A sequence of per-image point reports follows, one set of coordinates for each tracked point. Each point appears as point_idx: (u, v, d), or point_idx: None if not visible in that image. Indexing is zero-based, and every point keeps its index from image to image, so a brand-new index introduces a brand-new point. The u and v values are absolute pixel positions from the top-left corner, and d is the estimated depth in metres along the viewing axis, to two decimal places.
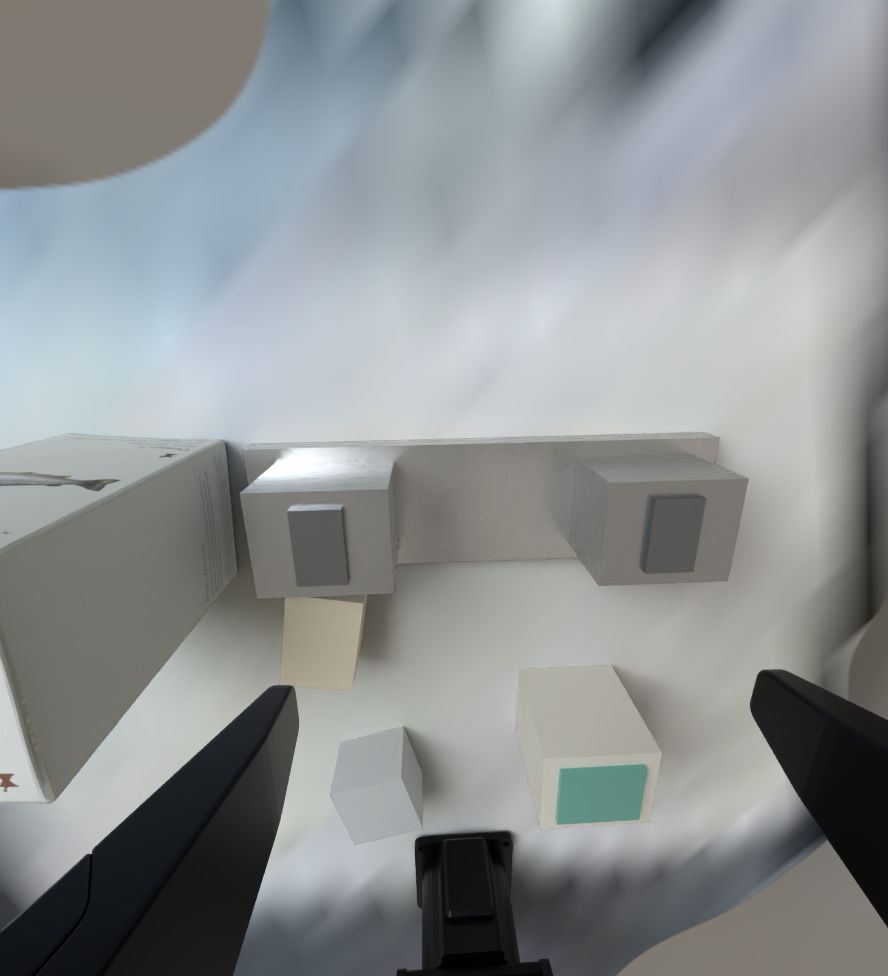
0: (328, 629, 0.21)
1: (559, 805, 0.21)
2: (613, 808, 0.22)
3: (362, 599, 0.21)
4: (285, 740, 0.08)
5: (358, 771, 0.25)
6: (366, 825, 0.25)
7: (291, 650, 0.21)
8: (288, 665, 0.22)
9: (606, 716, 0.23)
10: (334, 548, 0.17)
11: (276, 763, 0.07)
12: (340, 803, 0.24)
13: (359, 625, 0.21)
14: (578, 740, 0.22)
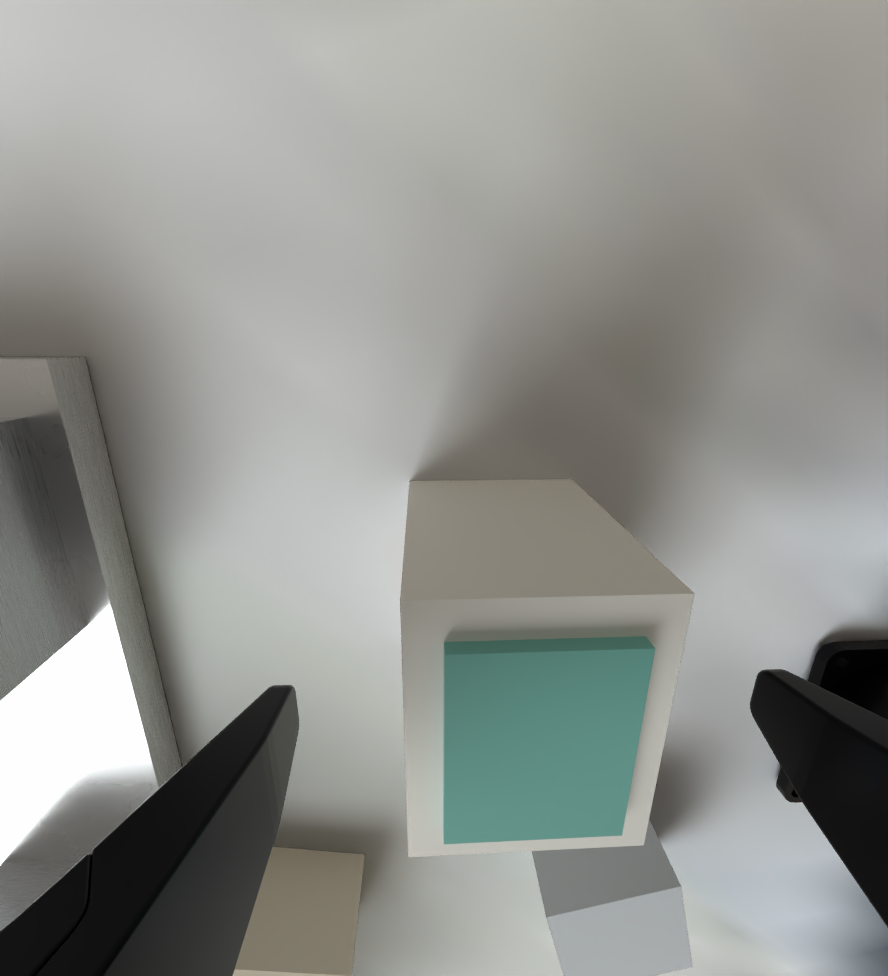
0: None
1: (553, 836, 0.08)
2: (590, 720, 0.07)
3: None
4: (285, 740, 0.08)
5: None
6: (649, 954, 0.14)
7: None
8: None
9: None
10: None
11: (276, 763, 0.07)
12: None
13: None
14: None
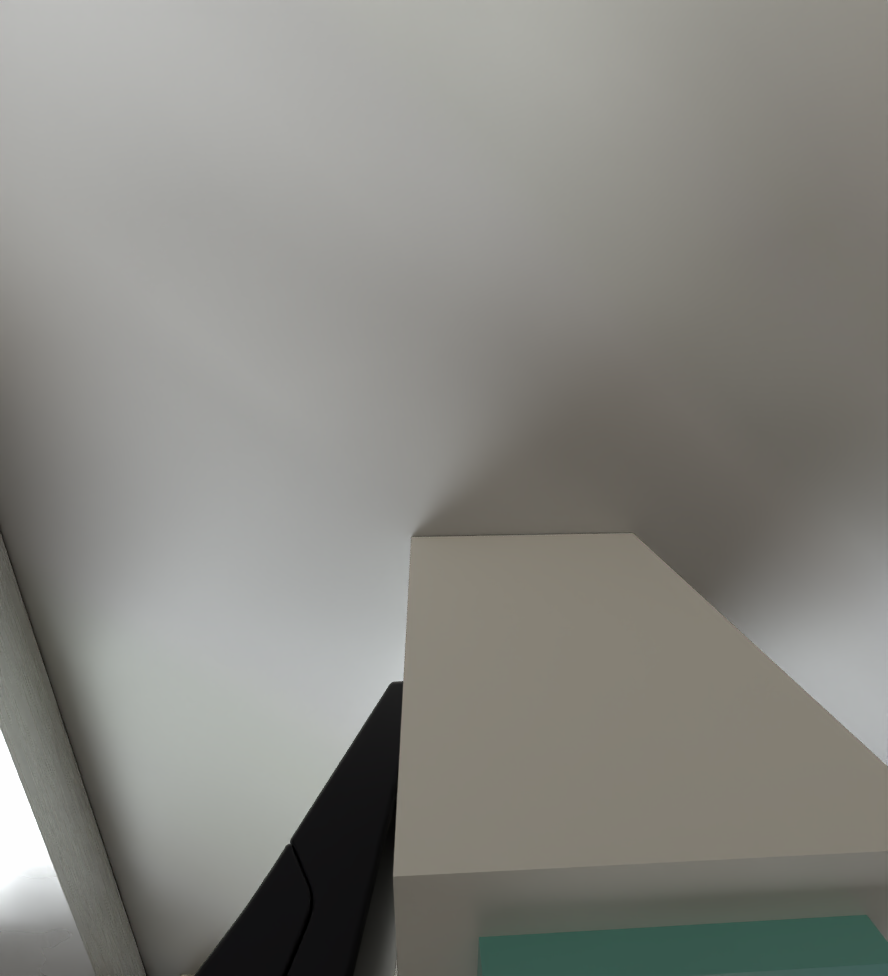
0: None
1: None
2: None
3: None
4: None
5: None
6: None
7: None
8: None
9: None
10: None
11: None
12: None
13: None
14: None
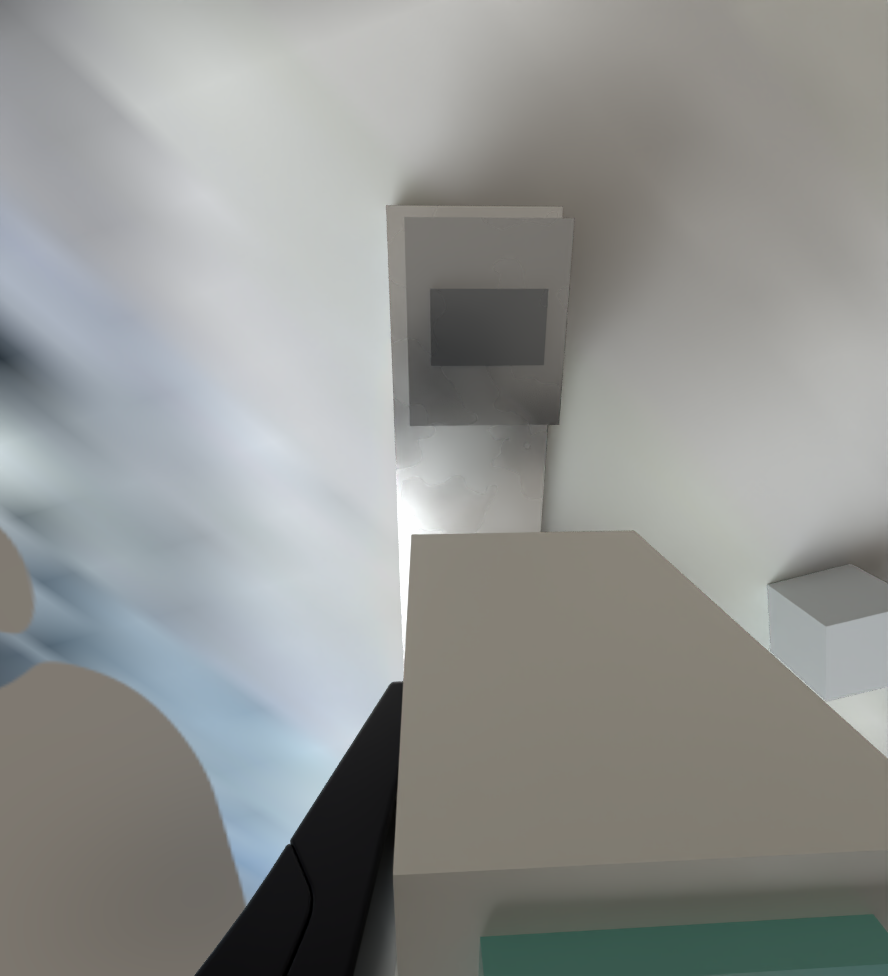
0: None
1: None
2: None
3: None
4: None
5: (807, 659, 0.20)
6: None
7: None
8: None
9: None
10: None
11: None
12: (842, 691, 0.20)
13: None
14: None
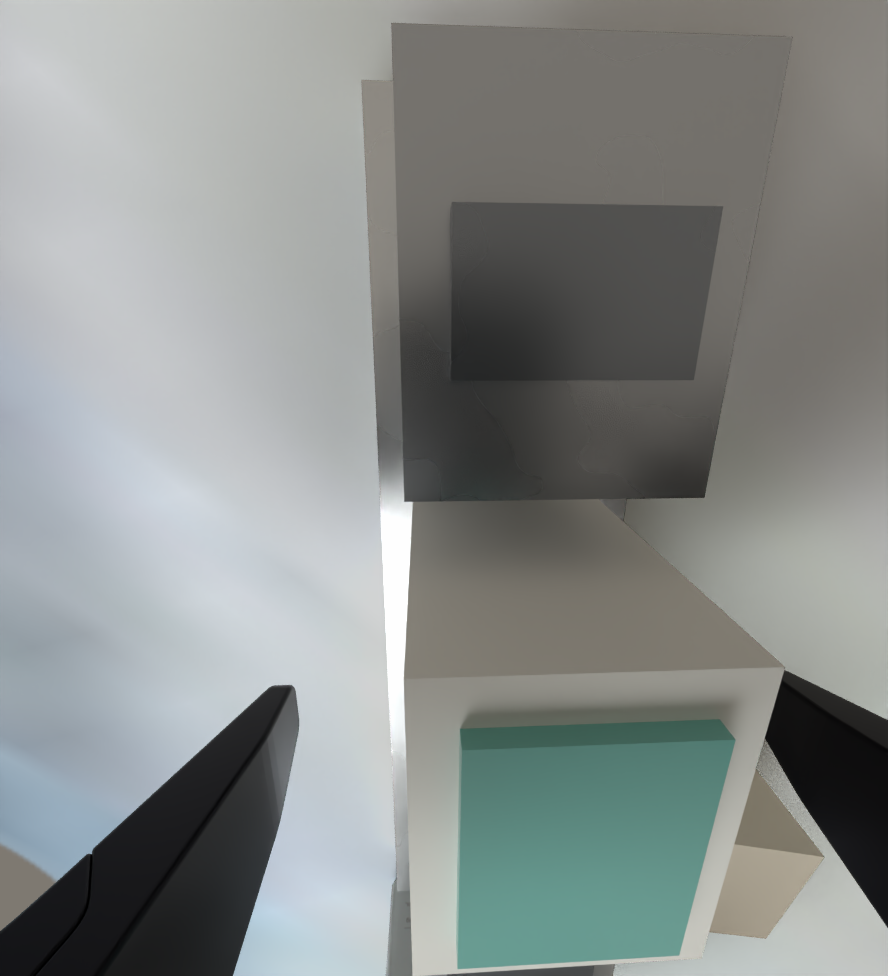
0: None
1: (594, 957, 0.06)
2: (646, 826, 0.06)
3: None
4: (285, 740, 0.08)
5: None
6: None
7: None
8: (736, 926, 0.13)
9: None
10: (520, 971, 0.10)
11: (276, 763, 0.07)
12: None
13: None
14: None
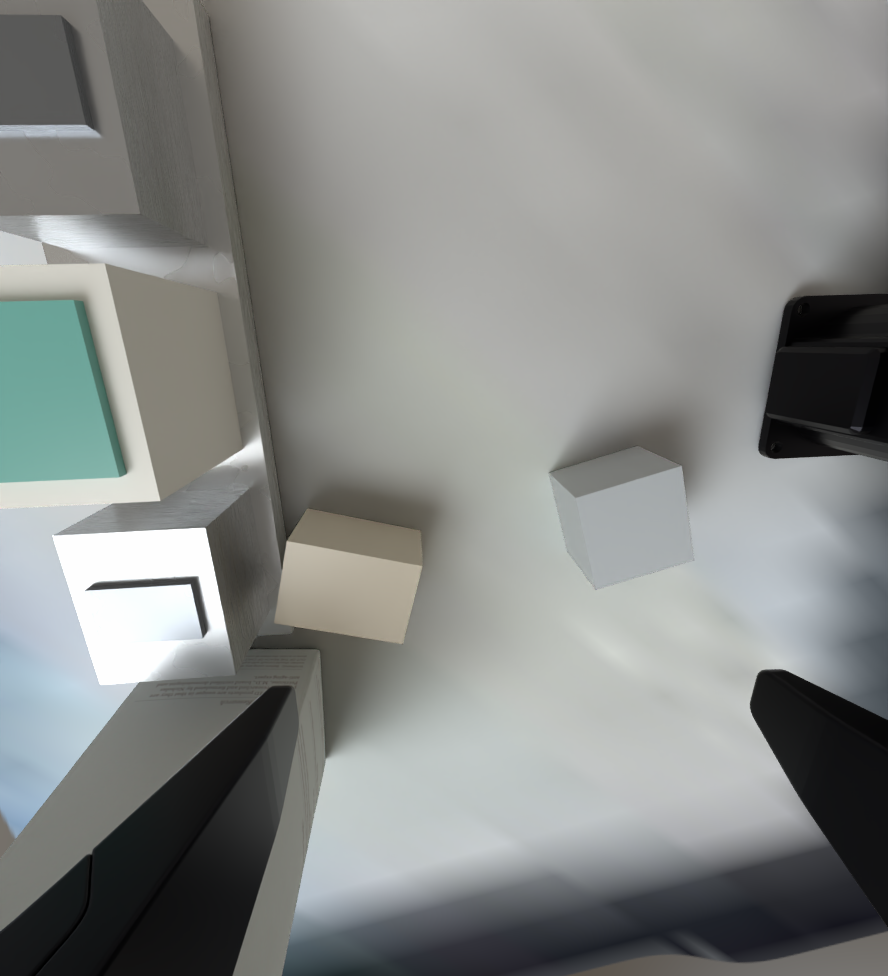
0: (324, 583, 0.17)
1: (66, 478, 0.11)
2: (49, 366, 0.10)
3: (288, 539, 0.17)
4: (285, 740, 0.08)
5: (579, 546, 0.18)
6: (659, 544, 0.17)
7: (354, 626, 0.18)
8: (375, 631, 0.18)
9: None
10: (139, 598, 0.14)
11: (276, 763, 0.07)
12: (611, 577, 0.18)
13: (321, 547, 0.16)
14: None
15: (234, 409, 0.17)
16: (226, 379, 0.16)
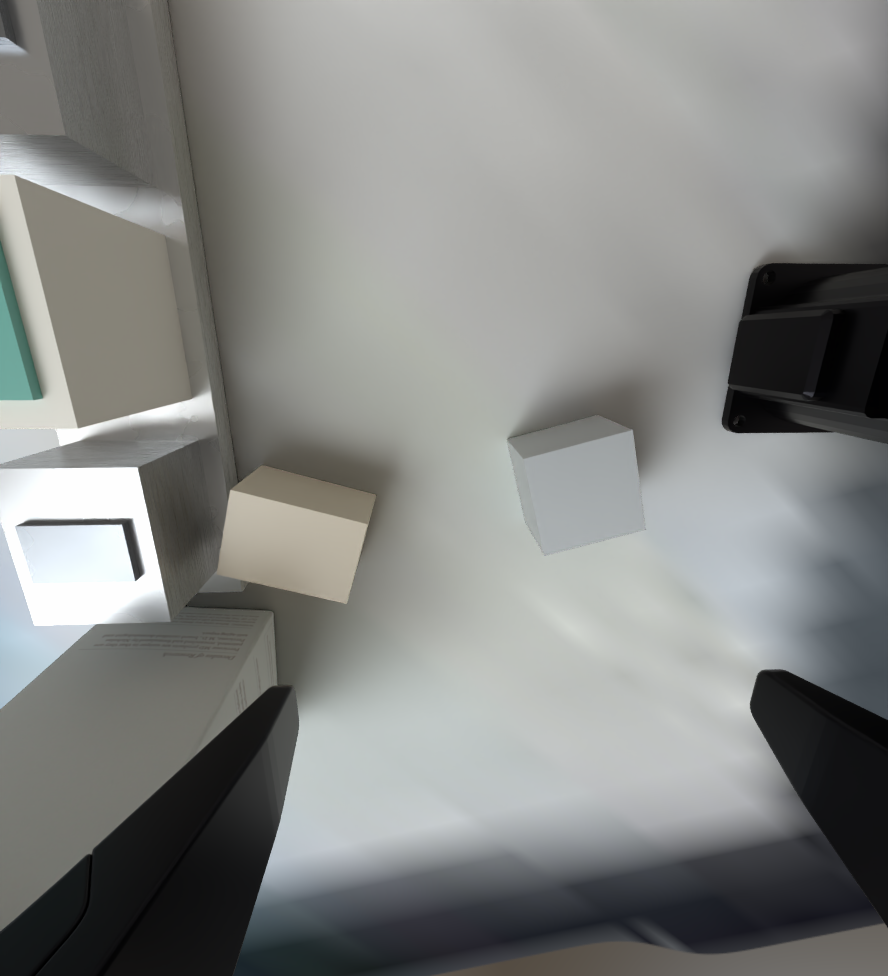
0: (267, 535, 0.17)
1: None
2: None
3: (233, 488, 0.16)
4: (285, 740, 0.08)
5: (530, 512, 0.18)
6: (609, 511, 0.17)
7: (297, 582, 0.17)
8: (319, 589, 0.18)
9: None
10: (71, 537, 0.14)
11: (276, 763, 0.07)
12: (560, 543, 0.17)
13: (265, 499, 0.16)
14: None
15: (182, 357, 0.16)
16: (173, 324, 0.16)
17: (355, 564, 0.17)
